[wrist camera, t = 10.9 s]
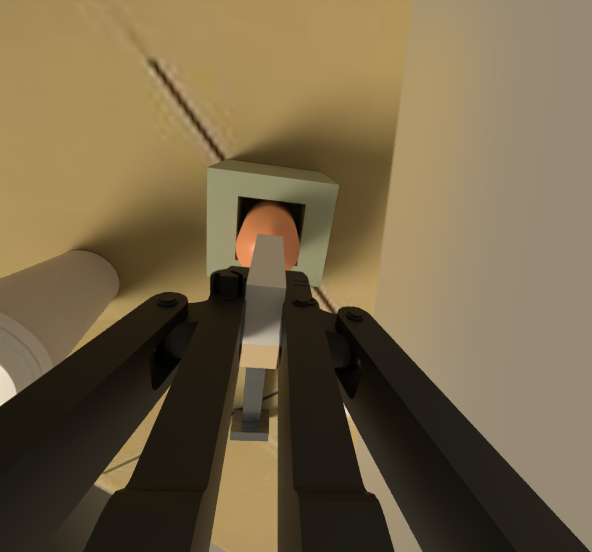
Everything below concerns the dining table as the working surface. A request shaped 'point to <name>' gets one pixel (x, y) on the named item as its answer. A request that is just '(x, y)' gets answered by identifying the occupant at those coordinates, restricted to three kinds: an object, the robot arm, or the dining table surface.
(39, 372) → the coffee cup
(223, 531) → the dining table surface
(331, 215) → the green square holder
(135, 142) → the dining table surface
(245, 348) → the carriage
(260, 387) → the rail
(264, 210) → the orange rounded piece
